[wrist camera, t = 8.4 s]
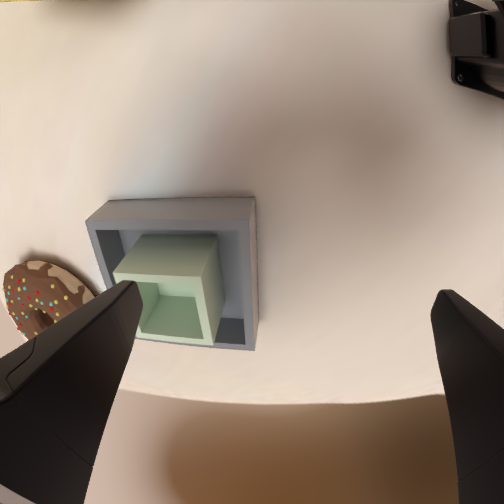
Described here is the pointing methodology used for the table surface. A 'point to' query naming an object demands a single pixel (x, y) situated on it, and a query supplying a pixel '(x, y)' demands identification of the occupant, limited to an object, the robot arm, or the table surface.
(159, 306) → the small crate
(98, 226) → the big crate
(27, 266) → the donut
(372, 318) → the table surface
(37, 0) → the flower pot
